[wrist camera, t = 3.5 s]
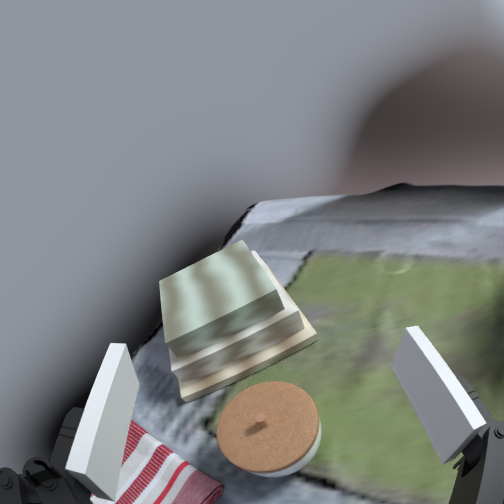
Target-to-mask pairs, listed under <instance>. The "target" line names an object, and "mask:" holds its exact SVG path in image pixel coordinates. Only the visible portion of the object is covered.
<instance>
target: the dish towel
mask: <svg viewBox="0 0 504 504" xmlns="http://www.w3.org/2000/svg"><path fill="white" fill-rule="evenodd" d="M222 492H223V484H222V483H220V482H219V481H217V480H214V479H213V478H211V477H209V476H208V475H206V474H204V473H203V472H201V471H200V470H198V469H197V468H195V467H194V466H192V465H191V464H190V463H188V462H187V461H185V460H184V459H182V458H181V457H179V456H178V455H177V454H175V453H174V452H173V451H171V450H170V449H169V448H168V447H166V446H165V445H163V444H162V443H161V442H159V441H158V440H156V439H155V438H154V437H152V436H151V435H150V434H149V433H148V432H146V431H145V430H144V429H143V428H142V427H140V426H139V425H138V424H136V423H135V422H134V421H132V420H131V422H130V426H129V431H128V435H127V440H126V445H125V450H124V455H123V460H122V465H121V470H120V475H119V481H118V487H117V492H116V498H115V502H114V501H109V500H105V499H100V498H97V497H96V496H95V495H93V494H92V493H91V498H90V500H91V501H92V502H93V504H213V503H214V502H215V501H216V500H217V499H218V497H219V496H220V495H221V493H222Z"/></svg>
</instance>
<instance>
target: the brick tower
mask: <svg viewBox="0 0 504 504" xmlns="http://www.w3.org/2000/svg"><path fill="white" fill-rule="evenodd" d="M159 283H160V296H161V306H162V318H163V327H164V336H165V343H166V345H167V346H168V349H169V356H170V363H171V370H172V372H173V373H174V374H175V375H176V376H177V378H178V382H179V387H180V393H181V398H182V399H183V400H184V401H185V402H186V403H187V402H190V401H192V400H195V399H197V398H199V397H202V396H204V395H207V394H209V393H211V392H214V391H216V390H218V389H220V388H223V387H225V386H227V385H229V384H232V383H234V382H236V381H238V380H240V379H243V378H245V377H247V376H249V375H251V374H253V373H255V372H257V371H259V370H261V369H263V368H266V367H268V366H270V365H272V364H274V363H276V362H277V361H279V360H281V359H283V358H285V357H287V356H289V355H291V354H293V353H295V352H297V351H299V350H301V349H302V348H304V347H306V346H308V345H310V344H312V343H313V342H315V341H317V340H319V338H318V335H317V333H316V331H315V330H314V329H313V327H312V326H311V325H310V323H309V322H308V320H307V319H306V318H305V316H304V315H303V314H302V312H301V311H300V310H299V308H298V307H297V306H296V304H295V303H294V301H293V300H292V299H291V297H290V296H289V295H288V293H287V292H286V291H285V289H284V288H283V287H282V285H281V284H280V282H279V281H278V280H277V278H276V277H275V276H274V274H273V273H272V272H271V270H270V269H269V268H268V266H267V265H266V264H265V262H264V261H263V260H261V258H260V257H259V256H258V254H257V253H256V251H255V250H254V251H252V252H251V251H250V250H249V249H248V247H247V246H246V244H245V243H244V241H243V240H241V241H239V242H237V243H235V244H233V245H231V246H229V247H227V248H225V249H223V250H221V251H219V252H217V253H215V254H213V255H211V256H209V257H207V258H205V259H203V260H201V261H199V262H197V263H195V264H193V265H191V266H189V267H187V268H185V269H183V270H181V271H179V272H177V273H175V274H173V275H171V276H169V277H167V278H165V279H163V280H161V281H159Z"/></svg>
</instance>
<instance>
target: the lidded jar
mask: <svg viewBox="0 0 504 504" xmlns="http://www.w3.org/2000/svg"><path fill="white" fill-rule="evenodd" d="M217 441H218V445H219V447H220V450H221V452H222V453H223V455H224V456H225V457H226V458H227V459H228V460H229V461H230V462H231V463H232V464H234V465H235V466H237V467H239V468H241V469H243V470H245V471H248V472H250V473H252V474H255V475H259V476H263V477H282V476H286V475H290V474H292V473H295V472H297V471H298V470H300V469H302V468H303V467H304V466H306V465H307V464H308V463H309V462H310V461H311V460H312V458H313V457H314V455H315V454H316V452H317V450H318V448H319V444H320V441H321V422H320V419H319V414H318V411H317V408H316V406H315V404H314V402H313V400H312V398H311V397H310V396H309V395H308V394H307V393H306V392H305V391H304V390H303V389H301V388H299V387H298V386H295V385H293V384H290V383H286V382H279V381H272V382H264V383H260V384H256V385H253V386H251V387H249V388H247V389H245V390H243V391H242V392H240V393H239V394H237V395H236V396H235V397H234V398H233V399H232V400H231V401H230V402H229V403H228V404H227V405H226V407H225V408H224V410H223V412H222V413H221V416H220V418H219V421H218V425H217Z"/></svg>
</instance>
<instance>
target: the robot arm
mask: <svg viewBox="0 0 504 504" xmlns="http://www.w3.org/2000/svg"><path fill="white" fill-rule="evenodd" d="M391 368H392V370H393V372H394V374H395V375H396V377H397V379H398V381H399V383H400V384H401V386H402V388H403V390H404V392H405V393H406V395H407V397H408V399H409V401H410V403H411V404H412V406H413V408H414V410H415V412H416V414H417V416H418V418H419V419H420V421H421V423H422V425H423V427H424V429H425V431H426V433H427V435H428V437H429V439H430V441H431V443H432V445H433V447H434V449H435V451H436V453H437V455H438V457H439V459H440V461H441V463H442V464H445V463H447V462H449V461H451V460H453V459H455V458H456V457H457V456H458V455H459V454H460V453H461V452H462V453H463V455H464V456H463V457H462V458H461V459H460V460H459V461H458V462H457V463H456V464H455V465H454V467H453V469H455V468H456V467H457V466H458V465H459V464H460V466H459V468H458V469H457V470H458V474H457V478H456V481H455V485H454V488H453V492H452V495H451V498H450V501H449V504H504V422H503V421H495V419H494V418H493V417H492V415H491V414H490V412H489V411H488V409H487V408H486V406H485V405H484V403H483V402H482V400H481V399H480V398H479V396H478V395H477V393H476V392H474V389H473V387H472V386H471V385H470V383H469V382H468V381H466V380H465V379H464V378H463V377H461V376H460V377H457V378H456V377H455V375H454V374H453V372H452V371H451V370H450V368H449V367H448V365H447V364H446V363H445V361H444V360H443V359H442V357H441V356H440V355H439V353H438V352H437V351H436V349H435V348H434V347H433V345H432V344H431V343H430V341H429V340H428V339H427V337H426V336H425V335H424V333H423V332H422V331H421V330H420V328H419V327H418V326H414V327H408V328H405V331H404V334H403V337H402V339H401V342H400V345H399V348H398V350H397V353H396V356H395V358H394V361H393V364H392V366H391ZM139 385H140V384H139V381H138V379H137V376H136V373H135V370H134V367H133V364H132V361H131V358H130V355H129V353H128V349H127V346H126V344H118V343H111V344H110V346H109V348H108V351H107V353H106V355H105V358H104V360H103V363H102V365H101V368H100V370H99V373H98V375H97V378H96V380H95V383H94V386H93V388H92V391H91V393H90V396H89V399H88V401H87V404H86V407H85V409H81V408H75V407H73V408H72V410H71V411H70V412H69V413H68V414H67V415H66V417H65V420H64V422H63V425H62V428H61V430H60V433H59V436H58V438H57V441H56V444H55V447H54V450H53V453H52V456H51V459H50V462H49V461H47V460H46V459H44V458H41V457H34V458H31V459H29V460H28V461H27V462H26V463H25V465H24V467H23V471H22V472H23V474H17V473H16V472H14V471H13V470H12V469H10V468H5V467H4V468H1V469H0V504H93V502H92V501H91V500H90V498H91V493H92V494H93V495H95V496H96V497H97V498H100V499H105V500H109V501H114V502H115V498H116V492H117V487H118V481H119V475H120V470H121V465H122V460H123V455H124V450H125V445H126V440H127V435H128V431H129V426H130V422H131V418H132V413H133V409H134V405H135V401H136V397H137V393H138V389H139Z"/></svg>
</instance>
